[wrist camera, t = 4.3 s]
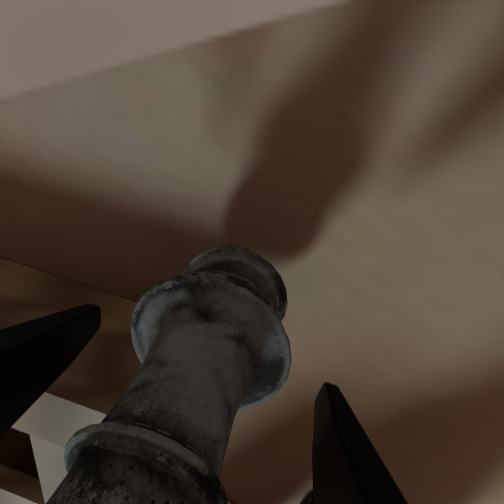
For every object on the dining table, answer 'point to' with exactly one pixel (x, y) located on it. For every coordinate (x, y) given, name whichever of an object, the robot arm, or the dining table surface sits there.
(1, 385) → the robot arm
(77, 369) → the beige rectangular hollow block
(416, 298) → the dining table surface
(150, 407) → the grey chess piece
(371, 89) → the dining table surface
